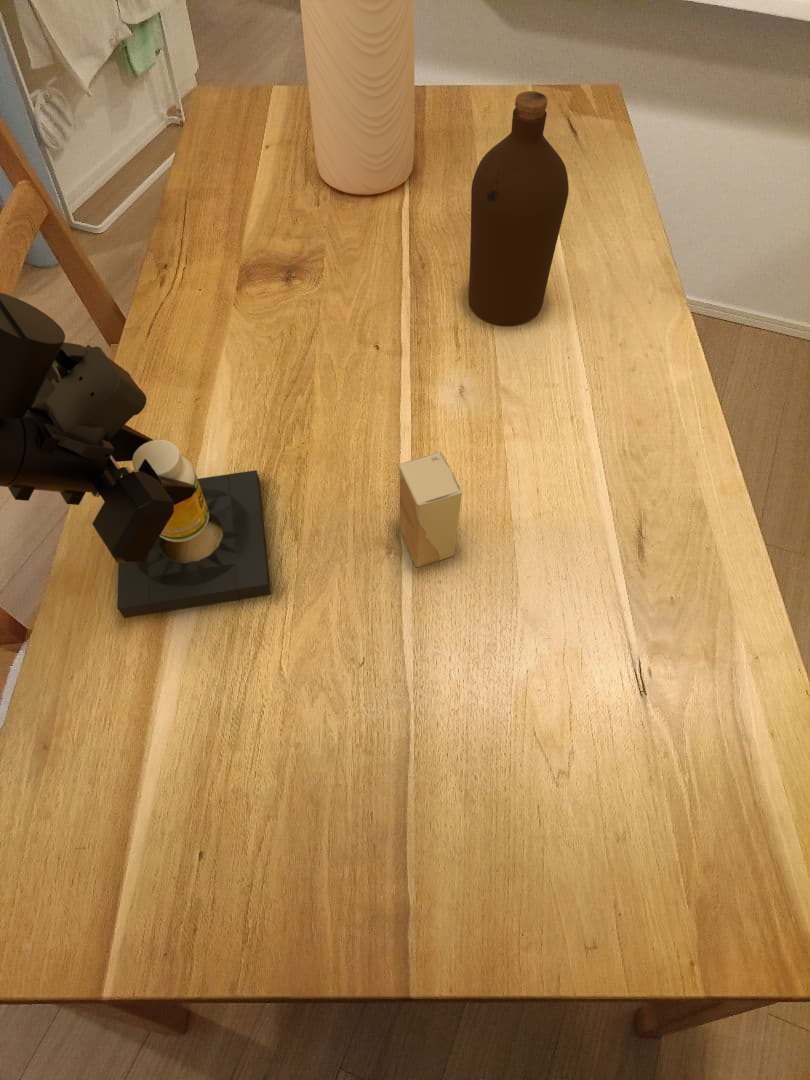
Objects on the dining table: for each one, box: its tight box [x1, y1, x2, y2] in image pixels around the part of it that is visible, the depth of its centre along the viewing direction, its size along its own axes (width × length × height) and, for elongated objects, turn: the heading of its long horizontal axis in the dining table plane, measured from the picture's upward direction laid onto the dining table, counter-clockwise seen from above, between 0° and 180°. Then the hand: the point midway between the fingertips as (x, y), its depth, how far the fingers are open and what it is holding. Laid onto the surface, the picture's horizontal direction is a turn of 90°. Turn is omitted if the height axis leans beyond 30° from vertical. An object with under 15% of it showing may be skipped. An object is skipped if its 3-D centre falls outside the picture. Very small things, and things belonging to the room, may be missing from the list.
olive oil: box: [467, 90, 570, 327], centre depth 87 cm, size 11×11×25 cm
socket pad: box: [116, 469, 272, 619], centre depth 76 cm, size 14×14×2 cm
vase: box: [299, 0, 415, 196], centre depth 100 cm, size 14×14×32 cm
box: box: [398, 451, 463, 568], centre depth 73 cm, size 5×4×11 cm
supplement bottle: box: [131, 439, 209, 543], centre depth 69 cm, size 5×5×10 cm
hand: (178, 471), depth 68 cm, fingers closed on supplement bottle, 5 cm apart
